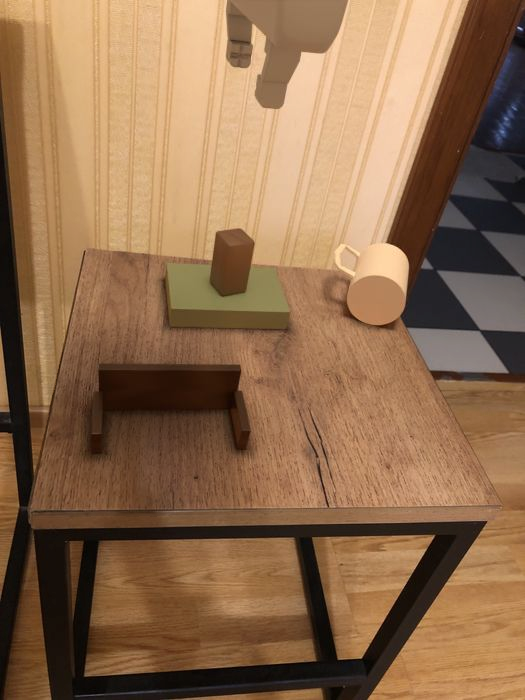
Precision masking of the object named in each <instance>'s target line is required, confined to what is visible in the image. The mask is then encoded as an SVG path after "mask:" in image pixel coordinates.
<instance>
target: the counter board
mask: <svg viewBox="0 0 525 700" xmlns="http://www.w3.org/2000/svg"><path fill="white" fill-rule="evenodd" d="M211 266H212V264H203V263H181V262H166V264H165V277H164V278H165V280H164V281H165V293H166V303H167V314H168V323H169V327H170V328H203V329H205V328H207V329H208V328H209V329H210V328H211V329H212V328H213V329H250V330H252V329H253V330H287V328H288V324H289V320H290V317H291V309H290V307H289V304H288V300H287V297H286V295H285V293H284V290H283V286H282V284H281V281H280V277H279V275H278V273H277V269H276V268H275V267H263V266H251V267H250V273H249V278H248V284H247V289H246V291H245V292H240V293H236V294H231V295H226V296H222V295H221V294H220V293H219V292H218V291H217V289H216V288H215V287H214V286H213V285H212V284H211V282H210V273H211Z"/></svg>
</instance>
